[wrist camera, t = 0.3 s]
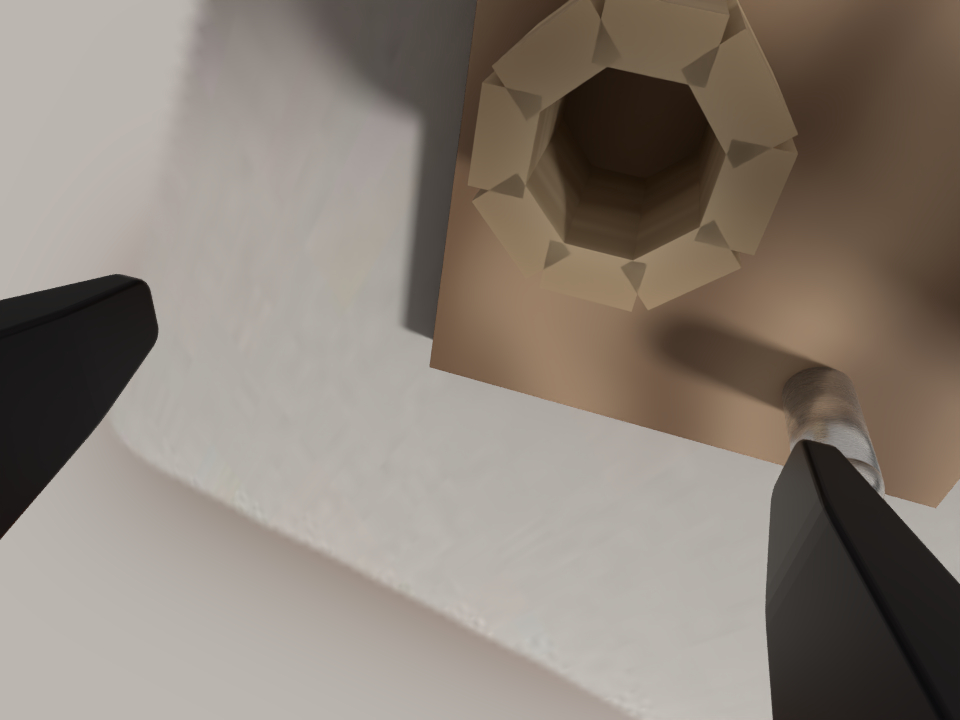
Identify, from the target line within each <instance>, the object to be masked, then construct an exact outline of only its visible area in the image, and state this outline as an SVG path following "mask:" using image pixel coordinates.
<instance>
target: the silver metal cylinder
mask: <svg viewBox="0 0 960 720" xmlns="http://www.w3.org/2000/svg"><path fill="white" fill-rule="evenodd" d="M782 402H783V409H784V415H785V421H786V427H787V433H788V439H789V445H790V451H792V449H793V447H794V446H795V444H796V443H797V442H798V441H800V440H802V439H808V440H812V441H817V442H821V443H825V444H829V445H833V446H835V447H836V448H837V449H839V450H840V451H841V452H842V454H843V455H844V456H845V457H846V458H847V459H848V460H849V461H850V463H851V464H852V465H853V466H854V467H855V468H856V469H857V470H858V471H859V473H860V474H861V475H862V476H863V477H864V478H865V479H866V480H867V481H868V483H869V484H870V485H871V486H872V487H873V488H874V489H875V490H876V491H877V493H878V494H879V495H880V496H881V497H882V498H883V499H884V496H885V486H884V481H883V477H882V474H881V471H880V468H879V464H878V461H877V458H876V455H875V452H874V448H873V445H872V442H871V439H870V436H869V432H868V429H867V426H866V423H865V420H864V416H863V413H862V410H861V407H860V404H859V400H858V397H857V394H856V391H855V388H854V385H853V382H852V381H851V379H850V378H849V377H848V376H847V375H846V374H844V373H843V372H841V371H839V370H836V369H833V368H829V367H812V368H808V369H804V370H802V371H800V372H798V373H796V374H794V375H793V376H792V377H791V378H789V379H788V381H787V382H786V383H785V385H784V387H783V390H782Z"/></svg>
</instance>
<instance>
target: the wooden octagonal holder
mask: <svg viewBox="0 0 960 720" xmlns="http://www.w3.org/2000/svg"><path fill="white" fill-rule="evenodd" d="M492 67H493V69H494V70H495V71H494V72H493V73H492V74H491V75H490V76H489V77H488V78H486V79H485V80H484V81H483V82H482V88H481V95H480V102H479V109H478V116H477V123H476V130H475V137H474V144H473V151H472V158H471V165H470V172H469V179H468V186H472V187H477V188H481V189H480V190H479V192H478V193H477V194H476V196H475V197H474V199H473V200H472V203H473V204H474V205H475V207H476V208H477V210H478V211H479V213H480V214H481V215H482V217H483V218H484V220H485V221H486V222H487V224H488V225H489V227H490V228H491V230H492V231H493V232H494V234H495V235H496V237H497V238H498V240H499V241H500V242H501V244H502V245H503V247H504V248H505V250H506V251H507V252H508V254H509V255H510V257H511V258H512V259H513V261H514V262H515V264H516V265H517V267H518V268H519V269H520V271H521V272H522V274H523V275H524V277H525V278H526V279H527V278H529V277H530V276H532V275H534V274H536V273H538V272H540V271H542V270H543V273H542V278H541V282H540V286H539V288H542V289H546V290H550V291H554V292H558V293H561V294H565V295H569V296H573V297H577V298H581V299H585V300H588V301H592V302H596V303H600V304H604V305H608V306H611V307H615V308H619V309H623V310H627V311H631V312H632V309H633V306H634V303H635V300H636V296H637V294H638V296H639V297H640V299H641V300H642V302H643V303H644V305H645V306H646V308H647V310H650V309H652V308H654V307H656V306H659V305H661V304H663V303H665V302H667V301H670V300H672V299H674V298H676V297H679V296H681V295H683V294H685V293H687V292H690V291H692V290H694V289H696V288H698V287H701V286H703V285H705V284H707V283H709V282H712V281H714V280H716V279H718V278H720V277H723V276H725V275H727V274H729V273H731V272H734V271H736V270H738V269H740V268H741V262H740V253H739V252H742V253H746V254H750V255H755V252H756V250H757V248H758V245H759V243H760V241H761V238H762V236H763V234H764V232H765V229H766V227H767V225H768V222H769V220H770V218H771V215H772V213H773V211H774V208H775V206H776V204H777V202H778V199H779V197H780V195H781V192H782V190H783V188H784V185H785V183H786V181H787V178H788V176H789V174H790V171H791V169H792V167H793V165H794V162H795V160H796V158H797V155H798V152H797V150H796V147H795V144H794V141H793V139H792V137H794V136H796V135H798V133H797V130H796V128H795V125H794V123H793V120H792V118H791V115H790V113H789V110H788V108H787V105H786V103H785V100H784V98H783V95H782V93H781V90H780V88H779V85H778V83H777V80H776V78H775V76H774V73H773V71H772V69H771V67H770V65H769V63H768V61H767V59H766V56H765V54H764V52H763V50H762V48H761V46H760V44H759V42H758V40H757V38H756V36H755V34H754V32H753V30H752V28H751V26H750V24H749V22H748V19H747V17H746V15H745V13H744V11H743V9H742V7H741V5H740V3H739V1H738V0H569V1H568V2H566V3H565V4H564V5H562V6H561V7H560V8H558V9H557V10H556V11H554V12H553V13H552V14H550V15H549V16H548V17H546V18H545V19H544V20H542V21H541V22H540V23H538V24H537V25H536V26H535V27H534V28H533V29H532V30H531V31H530V32H529V33H527V34H526V35H525V36H524V37H523V38H522V39H521V40H520V41H519V42H518V43H517V44H515V45H514V46H513V47H512V48H511V49H510V50H509V51H508V52H507V53H506V54H504V55H503V56H502V57H501V58H500V59H499V60H498V61H497V62H496V63H495V64H494V65H492ZM606 67H610V68H615V69H619V70H624V71H628V72H633V73H638V74H642V75H647V76H651V77H656V78H660V79H665V80H670V81H674V82H679V83H683V84H688V85H689V86H690V88H691V90H692V92H693V94H694V96H695V98H696V99H697V101H698V103H699V105H700V107H701V109H702V111H703V113H704V114H705V116H706V118H707V120H708V124H707V127H706V130H705V133H704V136H703V139H702V141H701V144H700V147H699V150H697V151H695V152H693V153H691V154H690V155H688V156H686V157H684V158H683V159H681V160H679V161H677V162H675V163H674V164H672V165H670V166H668V167H666V168H665V169H663V170H661V171H659V172H658V173H656V174H654V175H652V176H650V177H649V178H647V179H646V178H641V177H637V176H633V175H629V174H624V173H620V172H616V171H612V170H608V169H603V168H599V167H595V166H592V165H591V163H590V162H589V160H588V158H587V157H586V155H585V154H584V152H583V150H582V149H581V147H580V145H579V144H578V142H577V141H576V139H575V137H574V136H573V134H572V132H571V131H570V129H569V128H568V126H567V124H566V123H565V121H564V120H563V115H564V110H565V105H566V101H567V96H568V93H569V92H570V91H572V90H573V89H575V88H576V87H578V86H579V85H581V84H582V83H584V82H585V81H587V80H588V79H590V78H591V77H593V76H594V75H596V74H597V73H599V72H600V71H602V70H603V69H605V68H606Z"/></svg>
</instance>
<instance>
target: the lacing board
mask: <svg viewBox="0 0 960 720" xmlns="http://www.w3.org/2000/svg"><path fill="white" fill-rule="evenodd" d="M568 1H569V0H477V5H476V12H475V20H474V28H473V36H472V43H471V51H470V59H469V66H468V74H467V82H466V90H465V97H464V105H463V113H462V120H461V128H460V136H459V144H458V151H457V159H456V167H455V174H454V182H453V190H452V198H451V205H450V213H449V221H448V228H447V236H446V244H445V252H444V259H443V267H442V275H441V282H440V290H439V298H438V306H437V313H436V321H435V329H434V336H433V344H432V352H431V360H430V367H431V368H435V369H438V370H442V371H446V372H449V373H453V374H456V375H460V376H464V377H467V378H471V379H474V380H478V381H482V382H485V383H489V384H492V385H496V386H499V387H503V388H507V389H510V390H514V391H517V392H521V393H525V394H528V395H532V396H535V397H539V398H543V399H546V400H550V401H553V402H557V403H560V404H564V405H568V406H571V407H575V408H578V409H582V410H586V411H589V412H593V413H596V414H600V415H604V416H607V417H611V418H614V419H618V420H621V421H625V422H629V423H632V424H636V425H639V426H643V427H647V428H650V429H654V430H657V431H661V432H665V433H668V434H672V435H675V436H679V437H682V438H686V439H690V440H693V441H697V442H700V443H704V444H708V445H711V446H715V447H718V448H722V449H725V450H729V451H733V452H736V453H740V454H743V455H747V456H751V457H754V458H758V459H761V460H765V461H769V462H772V463H776V464H779V465H783V466H785V464H786V461H787V459H788V457H789V455H790V453H791V451H790V445H789V439H788V433H787V427H786V421H785V415H784V409H783V402H782V390H783V387H784V385H785V383H786V382H787V381H788V379H789V378H791V377H792V376H793V375H794V374H796V373H798V372H800V371H802V370H804V369H808V368H812V367H829V368H833V369H836V370H839V371H841V372H843V373H844V374H846V375H847V376H848V377H849V378H850V379H851V381H852V382H853V385H854V388H855V391H856V394H857V397H858V400H859V404H860V407H861V410H862V413H863V416H864V420H865V423H866V426H867V429H868V432H869V436H870V439H871V442H872V445H873V448H874V452H875V455H876V458H877V461H878V464H879V468H880V471H881V474H882V477H883V481H884V486H885V494H887V495H891V496H894V497H898V498H901V499H905V500H908V501H912V502H916V503H919V504H923V505H926V506H930V507H934V508H936V507H937V506H938V505H939V503H940V502H941V501H942V500H943V499H944V497H945V496H946V495H947V494H948V492H949V491H950V490H951V489H952V487H953V486H954V485H955V484H956V483H957V481H958V480H959V479H960V0H738V1H739V3H740V5H741V7H742V9H743V11H744V13H745V15H746V17H747V19H748V22H749V24H750V26H751V28H752V30H753V32H754V34H755V36H756V38H757V40H758V42H759V44H760V46H761V48H762V50H763V52H764V54H765V56H766V59H767V61H768V63H769V65H770V67H771V69H772V71H773V73H774V76H775V78H776V80H777V83H778V85H779V88H780V90H781V93H782V95H783V98H784V100H785V103H786V105H787V108H788V110H789V113H790V115H791V118H792V120H793V123H794V125H795V128H796V130H797V133H798V135H796V136H794V137H792V139H793V141H794V144H795V147H796V150H797V152H798V155H797V158H796V160H795V162H794V165H793V167H792V169H791V171H790V174H789V176H788V178H787V181H786V183H785V185H784V188H783V190H782V192H781V195H780V197H779V199H778V202H777V204H776V206H775V208H774V211H773V213H772V215H771V218H770V220H769V222H768V225H767V227H766V229H765V232H764V234H763V236H762V238H761V241H760V243H759V245H758V248H757V250H756V252H755V255H750V254H746V253H742V252H739V253H740V262H741V268H740V269H738V270H736V271H734V272H731V273H729V274H727V275H725V276H723V277H720V278H718V279H716V280H714V281H712V282H709V283H707V284H705V285H703V286H701V287H698V288H696V289H694V290H692V291H690V292H687V293H685V294H683V295H681V296H679V297H676V298H674V299H672V300H670V301H667V302H665V303H663V304H661V305H659V306H656V307H654V308H652V309H650V310H647V308H646V306H645V305H644V303H643V302H642V300H641V299H640V297H639V296H638V294H637V296H636V300H635V303H634V306H633V309H632V312H631V311H627V310H623V309H619V308H615V307H611V306H608V305H604V304H600V303H596V302H592V301H588V300H585V299H581V298H577V297H573V296H569V295H565V294H561V293H558V292H554V291H550V290H546V289H542V288H539V286H540V282H541V278H542V273H543V270H542V271H540V272H538V273H536V274H534V275H532V276H530V277H529V278H527V279H526V278H525V277H524V275H523V274H522V272H521V271H520V269H519V268H518V267H517V265H516V264H515V262H514V261H513V259H512V258H511V257H510V255H509V254H508V252H507V251H506V250H505V248H504V247H503V245H502V244H501V242H500V241H499V240H498V238H497V237H496V235H495V234H494V232H493V231H492V230H491V228H490V227H489V225H488V224H487V222H486V221H485V220H484V218H483V217H482V215H481V214H480V213H479V211H478V210H477V208H476V207H475V205H474V204H473V203H472V200H473V199H474V197H475V196H476V194H477V193H478V192H479V190H480V189H481V188H477V187H472V186H468V179H469V172H470V165H471V158H472V151H473V144H474V137H475V130H476V123H477V116H478V109H479V102H480V95H481V88H482V82H483V81H484V80H485V79H486V78H488V77H489V76H490V75H491V74H492V73H493V72H494V71H495V70H494V69H493V67H492V65H494V64H495V63H496V62H497V61H498V60H499V59H500V58H501V57H502V56H503V55H504V54H506V53H507V52H508V51H509V50H510V49H511V48H512V47H513V46H514V45H515V44H517V43H518V42H519V41H520V40H521V39H522V38H523V37H524V36H525V35H526V34H527V33H529V32H530V31H531V30H532V29H533V28H534V27H535V26H536V25H537V24H538V23H540V22H541V21H542V20H544V19H545V18H546V17H548V16H549V15H550V14H552V13H553V12H554V11H556V10H557V9H558V8H560V7H561V6H562V5H564V4H565V3H566V2H568ZM563 120H564V121H565V123H566V124H567V126H568V128H569V129H570V131H571V132H572V134H573V136H574V137H575V139H576V141H577V142H578V144H579V145H580V147H581V149H582V150H583V152H584V154H585V155H586V157H587V158H588V160H589V162H590V163H591V165H592V166H595V167H599V168H603V169H608V170H612V171H616V172H620V173H624V174H629V175H633V176H637V177H641V178H646V179H647V178H649V177H650V176H652V175H654V174H656V173H658V172H659V171H661V170H663V169H665V168H666V167H668V166H670V165H672V164H674V163H675V162H677V161H679V160H681V159H683V158H684V157H686V156H688V155H690V154H691V153H693V152H695V151H697V150H699V147H700V144H701V141H702V139H703V136H704V133H705V130H706V127H707V124H708V120H707V118H706V116H705V114H704V113H703V111H702V109H701V107H700V105H699V103H698V101H697V99H696V98H695V96H694V94H693V92H692V90H691V88H690V86H689V85H688V84H683V83H679V82H674V81H670V80H665V79H660V78H656V77H651V76H647V75H642V74H638V73H633V72H628V71H624V70H619V69H615V68H610V67H606V68H605V69H603V70H602V71H600V72H599V73H597V74H596V75H594V76H593V77H591V78H590V79H588V80H587V81H585V82H584V83H582V84H581V85H579V86H578V87H576V88H575V89H573V90H572V91H570V92H569V93H568V96H567V101H566V105H565V110H564V115H563Z"/></svg>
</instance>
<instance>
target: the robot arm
mask: <svg viewBox="0 0 960 720" xmlns="http://www.w3.org/2000/svg"><path fill="white" fill-rule="evenodd" d="M157 337H158V323H157V319H156V314H155V309H154V305H153V300H152V295H151V291H150V288H149V286H148V285H147V283H146V282H145V281H143V280H142V279H138V278H134V277H130V276H126V275H121V274H114V275H109V276H105V277H101V278H96V279H91V280H87V281H83V282H78V283H74V284H69V285H65V286H61V287H56V288H52V289H48V290H43V291H39V292H34V293H30V294H26V295H21V296H17V297H13V298H8V299H4V300H0V539H1V538H2V537H3V536H4V535H5V533H6V532H7V531H8V530H9V529H10V528H11V526H12V525H13V524H14V523H15V521H17V520H18V518H19V517H20V516H21V515H22V514H23V512H24V511H25V510H26V509H27V508H28V507H29V505H30V504H31V503H32V502H33V501H34V499H36V497H37V496H38V495H39V494H40V493H41V491H42V490H43V489H44V488H45V487H46V486H47V484H48V483H49V482H50V481H51V480H52V479H53V478H54V476H55V475H56V474H57V473H58V472H59V470H60V469H61V468H62V467H63V466H64V465H65V464H66V462H67V461H68V460H69V459H70V458H71V456H72V455H73V454H74V453H75V452H76V451H77V450H78V448H79V447H80V446H81V445H82V444H83V443H84V442H85V440H86V439H87V438H88V437H89V436H90V434H91V433H92V432H93V431H94V430H95V428H96V427H97V426H98V425H99V423H100V422H101V421H102V419H103V418H104V417H105V415H106V414H107V413H108V411H109V410H110V408H111V407H112V405H113V404H114V403H115V401H116V400H117V398H118V397H119V395H120V394H121V392H122V391H123V390H124V388H125V387H126V385H127V384H128V382H129V381H130V379H131V378H132V377H133V375H134V374H135V372H136V371H137V369H138V368H139V366H140V365H141V364H142V362H143V361H144V359H145V358H146V356H147V355H148V353H149V352H150V351H151V349H152V348H153V346H154V345H155V343H156V340H157ZM765 614H766V634H767V647H768V661H769V674H770V688H771V701H772V715H773V720H960V584H959V583H958V581H957V580H956V579H955V578H954V577H953V576H952V575H951V574H950V573H949V571H948V570H947V569H946V568H945V567H944V566H943V565H942V564H941V563H940V561H939V560H938V559H937V558H936V557H935V556H934V555H933V554H932V553H931V551H930V550H929V549H928V548H927V547H926V546H925V545H924V544H923V543H922V541H921V540H920V539H919V538H918V537H917V536H916V535H915V534H914V533H913V531H912V530H911V529H910V528H909V527H908V526H907V525H906V524H905V523H904V521H903V520H902V519H901V518H900V517H899V516H898V515H897V514H896V513H895V511H894V510H893V509H892V508H891V507H890V506H889V505H888V504H887V503H886V501H885V500H884V499H883V498H882V497H881V496H880V495H879V494H878V493H877V491H876V490H875V489H874V488H873V487H872V486H871V485H870V484H869V483H868V481H867V480H866V479H865V478H864V477H863V476H862V475H861V474H860V473H859V471H858V470H857V469H856V468H855V467H854V466H853V465H852V464H851V463H850V461H849V460H848V459H847V458H846V457H845V456H844V455H843V454H842V452H841V451H840V450H839V449H837V448H836V447H835V446H833V445H829V444H825V443H821V442H817V441H812V440H808V439H802V440H800V441H798V442H797V443H796V444H795V446H794V447H793V449H792V451H791V453H790V455H789V457H788V459H787V461H786V464H785V466H784V468H783V470H782V472H781V474H780V476H779V478H778V480H777V482H776V484H775V486H774V489H773V493H772V498H771V508H770V526H769V544H768V563H767V581H766V604H765Z"/></svg>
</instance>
